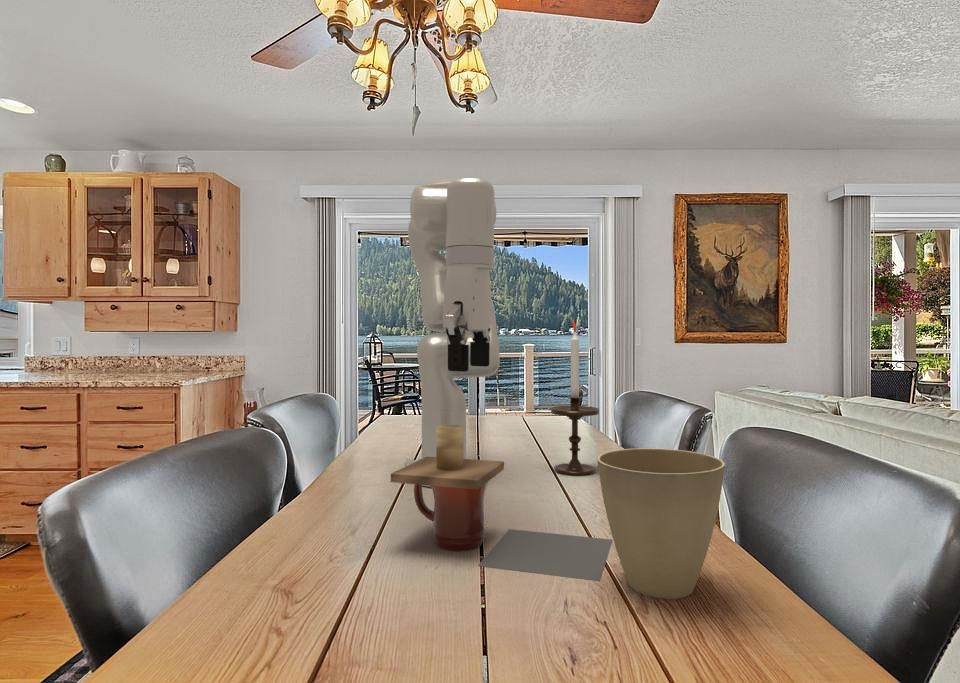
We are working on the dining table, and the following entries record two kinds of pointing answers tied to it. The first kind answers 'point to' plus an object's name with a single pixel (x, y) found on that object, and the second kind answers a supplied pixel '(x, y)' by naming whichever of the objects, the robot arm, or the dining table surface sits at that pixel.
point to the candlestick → (574, 416)
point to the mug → (455, 516)
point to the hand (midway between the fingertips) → (469, 368)
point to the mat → (549, 554)
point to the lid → (449, 464)
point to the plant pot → (661, 515)
